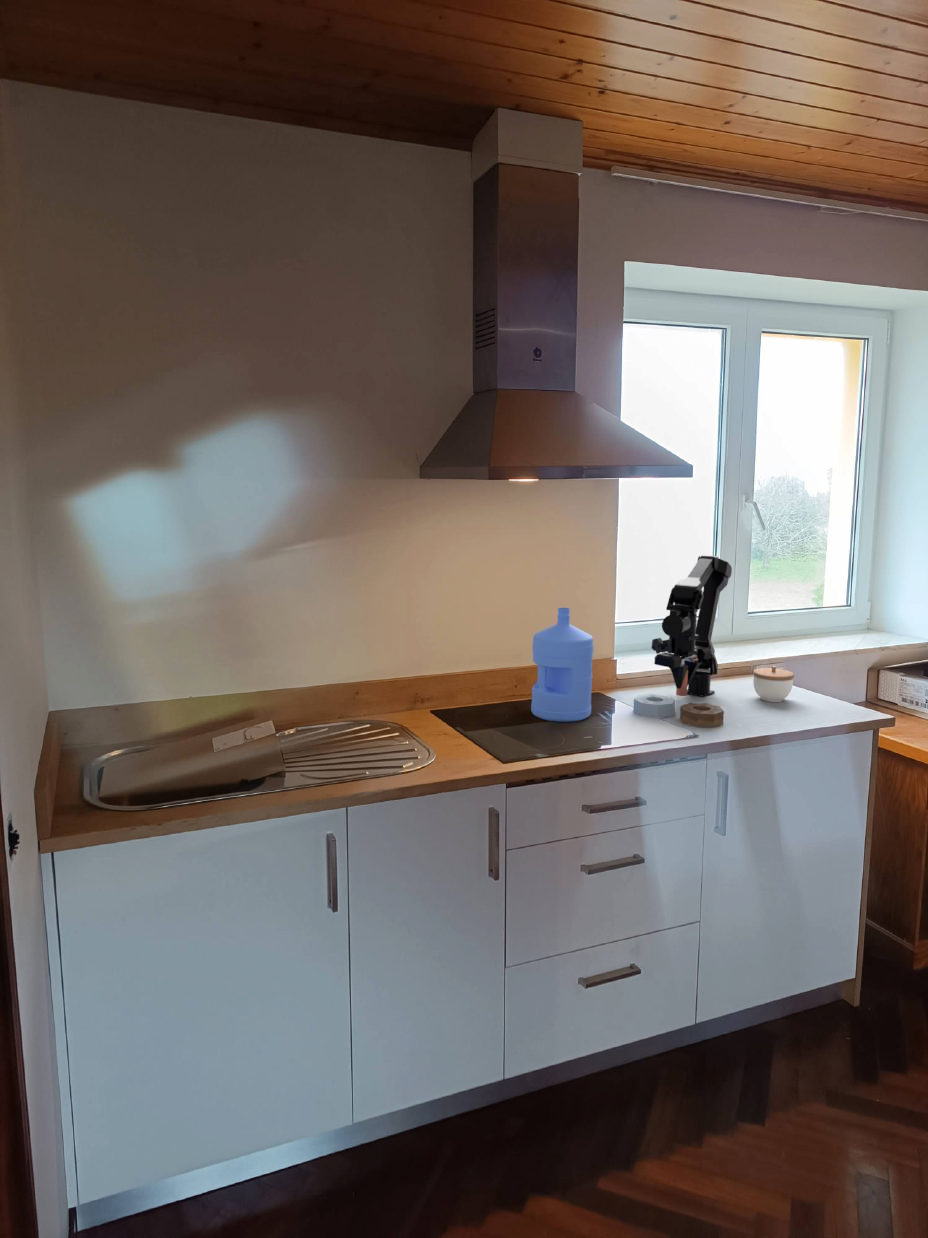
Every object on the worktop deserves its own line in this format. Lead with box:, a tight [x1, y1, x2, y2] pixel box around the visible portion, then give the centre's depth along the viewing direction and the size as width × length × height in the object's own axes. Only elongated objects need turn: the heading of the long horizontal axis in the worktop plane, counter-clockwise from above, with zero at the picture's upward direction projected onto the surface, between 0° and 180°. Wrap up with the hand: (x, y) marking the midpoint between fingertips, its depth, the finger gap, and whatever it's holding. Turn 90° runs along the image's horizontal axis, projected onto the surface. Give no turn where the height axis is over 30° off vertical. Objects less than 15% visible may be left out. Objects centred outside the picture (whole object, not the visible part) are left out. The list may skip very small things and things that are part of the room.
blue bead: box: [632, 693, 676, 719], centre depth 226 cm, size 10×10×4 cm
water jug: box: [530, 607, 594, 723], centre depth 221 cm, size 16×16×28 cm
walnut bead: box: [679, 702, 725, 728], centre depth 218 cm, size 10×10×4 cm
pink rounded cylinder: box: [675, 669, 688, 697], centre depth 231 cm, size 3×3×7 cm
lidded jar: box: [752, 665, 795, 703], centre depth 239 cm, size 11×11×9 cm
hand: (681, 687), depth 232 cm, fingers closed on pink rounded cylinder, 3 cm apart
